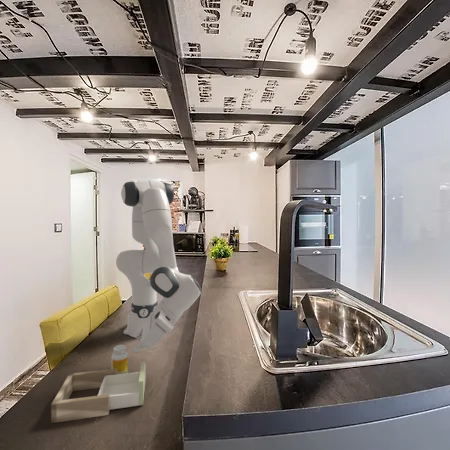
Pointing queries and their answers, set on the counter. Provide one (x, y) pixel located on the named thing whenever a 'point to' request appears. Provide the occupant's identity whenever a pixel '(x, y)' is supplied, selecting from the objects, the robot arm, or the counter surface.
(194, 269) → the counter surface
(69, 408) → the tray frame
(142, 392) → the tray
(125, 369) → the supplement bottle
